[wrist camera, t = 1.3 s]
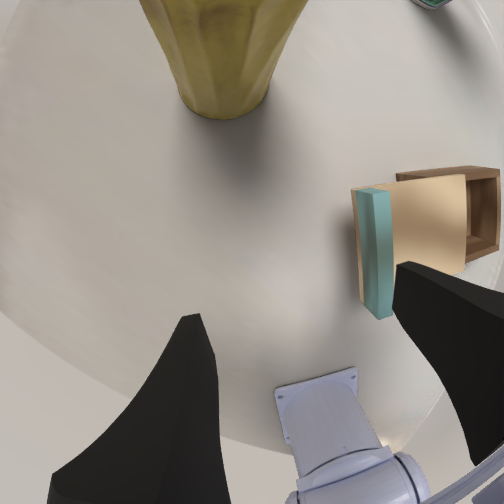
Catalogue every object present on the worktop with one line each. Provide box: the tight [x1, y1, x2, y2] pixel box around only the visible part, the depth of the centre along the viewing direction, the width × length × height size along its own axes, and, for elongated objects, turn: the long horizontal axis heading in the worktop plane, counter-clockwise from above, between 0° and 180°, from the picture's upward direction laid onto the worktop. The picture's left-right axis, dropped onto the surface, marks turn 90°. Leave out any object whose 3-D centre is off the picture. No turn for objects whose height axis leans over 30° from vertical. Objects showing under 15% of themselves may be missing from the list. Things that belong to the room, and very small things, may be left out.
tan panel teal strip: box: [351, 174, 467, 320], centre depth 15 cm, size 7×9×3 cm
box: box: [396, 166, 501, 263], centre depth 19 cm, size 7×9×4 cm
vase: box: [139, 0, 308, 120], centre depth 10 cm, size 6×6×14 cm
